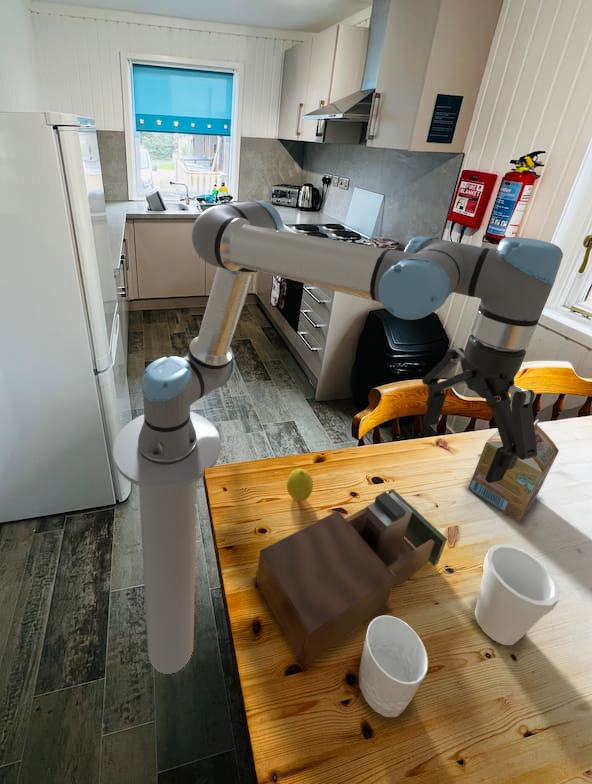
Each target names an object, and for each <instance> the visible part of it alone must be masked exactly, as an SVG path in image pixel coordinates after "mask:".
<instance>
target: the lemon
mask: <svg viewBox="0 0 592 784" xmlns="http://www.w3.org/2000/svg"><path fill="white" fill-rule="evenodd" d="M313 482H314V481H313V478H312V476H311V474H310V472H309V471H307V470H306V469H304V468H296V469H293V470H292V471H291V472H290V473H289V475H288V477H287V480H286V489H287V493H288V495H289V496H290V498H292V499H293V500H295V501H297V502H303V501H306V500H307V499H309V498H310V496H311V494H312V492H313V487H314V483H313Z"/></svg>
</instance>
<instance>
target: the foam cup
mask: <svg viewBox="0 0 592 784" xmlns="http://www.w3.org/2000/svg"><path fill="white" fill-rule="evenodd" d="M482 570H483V572H482V577H481V582H480V586H479V589H478V590H479V591H478V596H477V600H476V605H475V610H474V615H475V620H476V623H477V624H478V625H479V627H480V629H481V630H482V632H483V633H485V634H486V635H487V636H488V637H489V638H491V640H492V641H494V642H496V643H499V644H500V645H502V646H513V645H514V644H516V643H517V642H518V641H520V639H522V638H523V637H524V636H525V635H526V634H527V633H528V632H529V631H530V630H532V628H533V627H534V626H535V625H536V624H537V623H538V622H539V621H540V620H541V619H542V618H543V617H544V616H546V615H548V614H549V613H550V612H552V611H553V610H554V609H555V607H556V605H557V604H558V603H559V600H560V590H561V588H560V586H559V584H558V582H557V580H556V578H555V576H554V573H552V572H551V570H550V569H549V568H548V567H547V566H546V565H545V564H544V563H543V562H542V561H541V560H540V559H539V558H537V557H536V556H534V555H532V554H531V553H529V552H528V551H527V550H525V549H523V548H520V547H518V546H515V545H513V544H506V543H497V544H495V545H493V546H491V547H489V548H488V551H487V553H486V555H485V557H484V561H483V565H482Z"/></svg>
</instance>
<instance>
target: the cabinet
mask: <svg viewBox="0 0 592 784" xmlns="http://www.w3.org/2000/svg"><path fill="white" fill-rule="evenodd" d="M395 577H396V576H395V575H394V574H393V572H392V571H391V570H390V569H389V568H388V567H387V566H386V564H385V563H384V562H383V561H382V560H381V559H380V558H379V557H378V555H377V554H376V553H375V552H374V551H373V550H372V549H371V547H370V546H369V545H368V544H367V543H366V542H365V541H364V540H363V538H362V537H361V536H360V535H359V534H358V533H357V532H356V530H355V529H354V528H353V527H352V526H351V525H350V524H349V523H348V521H347V520H346V519H345V517H344V515H343V514H342V513H341V512H340V511H339V510H336V511H335V512H332V513H331V514H329V515H327V516H325V517H322V518H321V519H318V520H317V521H315V522H313V523H311V524H309V525H307V526H305V527H303V528H301V529H299V530H297V531H295V532H294V533H291V534H290V535H288V536H285V537H283V538H282V539H280V540H278V541H276V542H274V543H272V544H270V545H268V546H266V547H264V548H262V549H260V550H259V557H258V565H257V573H256V581H255V582H256V585H257V587H258V588H259V590H260V592H261V594H262V596H263V597H264V600H265V601H266V603H267V604H268V606H269V607H270V610H271V612H272V613H273V615H274V617H275V619H276V620H277V622H278V624H279V626H280V628H281V629H282V631H283V633H284V635H285V636H286V638H287V640H288V642H289V643H290V645H291V647H292V649H293V651H294V652H295V654H296V655H297V658H298V659H299V661H300V664H302V666H303V667H306V666H307V665H308V664H311V662H312V661H315V659H317V658H318V657H319V656H321V655H322V654H323V653H325V652H326V651H328V650H330V648H333V647H334V646H335V645H337V644H338V643H339V642H341V641H342V640H343V639H345V638H346V637H348V636H349V635H350V634H352V633H353V632H354V631H356V630H357V629H358V628H360V627H361V626H363V625H365V624H366V623H367V622H369V621H370V620H371V619H373V618H374V617H376V616H377V615H379V614H380V613H381V612H383V611H384V610H385V609H386V606H387V605H388V601H389V599H390V595H391V593H392V590H393V589H392V586H393V583H394V580H395Z"/></svg>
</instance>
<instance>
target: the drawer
mask: <svg viewBox="0 0 592 784" xmlns="http://www.w3.org/2000/svg"><path fill="white" fill-rule="evenodd" d="M390 493H393V494H394V495H395V496H396V497H397V498H398V499H399V500H401V501H402V502H403V503H404V504H405V505H406V506H407V507H408V508H409V509H410V510H411V511H412V514H411V517H410V520H409V523H408V527H407V530H406V533H405V536H404V539H403V542H402V545H401V548H400V551H399V555H398V557H397V558H395V559H394V560H392V561H391V562H389V563H388V564H386V566H387V567H388V568H389V569H390V570H391V571H392V572H393V574H394V575H395V576H396V577H395V580H394V583H393V586H392V589H391V590H393V589H395V587H397V586H399V585H400V584H401V583H403V582H405V581H406V580H408V578H410V577H412V576H413V575H414V574H416V573H417V572H419V571H421V570H422V569H423V568H425V567H426V566H427V564H428V563H430V564H431V565H432V566H433V567H435V566H437V565H438V564H439V562H440V559H441V557H442V554H443V552H444V549H445V547H446V544H447V541H448V538H447V537H446V536H445V535H444V534H443V533H442V532H440V530H438V529H437V528H436V527H435V526H434V525H433V524H432V523H430V522H429V521H428V519H427V518H425V516H424V515H422V514H421V513H420V512H419V511H418V510H417V509H416V508H415V507H413V506H412V504H410V503H409V502H408V501H407V500H406V499H405V498H404V497H403V496H401V495H400V494H399V493H398V492H397V490H395V489H394V488H392V489H390V490H388V492H387V494H390ZM365 511H366V507H364V508H362V509H360V510H358V511H357V512H355V513H353V514H351V515H349V516H347V517H346V518H345V517H344V518H345V519H346V520H347V521H348V523H349V524H350V525H351V526H352V527H353V528H354V529H355V530H356V532H357V533H358V534H360V531H361V527H362V523H363V519H364V515H365Z"/></svg>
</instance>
